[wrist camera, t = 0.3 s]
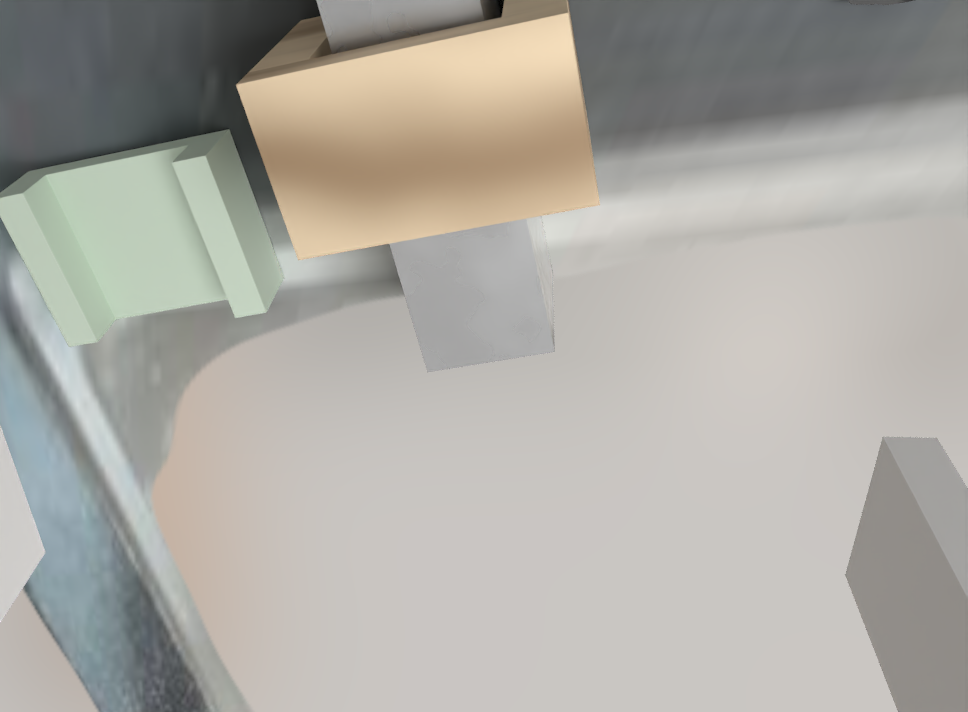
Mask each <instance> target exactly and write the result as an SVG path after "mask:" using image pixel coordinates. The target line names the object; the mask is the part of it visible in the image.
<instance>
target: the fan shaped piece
mask: <svg viewBox="0 0 968 712" xmlns="http://www.w3.org/2000/svg"><path fill="white" fill-rule="evenodd" d="M848 1H849V2H850V3H851V4H856V5H858V4H870V5H872V4H882V5H891V4H897V3H903V2H908V1H913V0H848Z"/></svg>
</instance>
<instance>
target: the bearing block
mask: <svg viewBox="0 0 968 712" xmlns="http://www.w3.org/2000/svg"><path fill="white" fill-rule="evenodd" d="M236 87H237V89H238V92H239V95H240V98H241V101H242V103H243V106H244V109H245V112H246V115H247V117H248V120H249V123H250V126H251V129H252V131H253V134H254V137H255V140H256V143H257V146H258V148H259V151H260V154H261V157H262V160H263V162H264V165H265V168H266V171H267V174H268V176H269V179H270V182H271V185H272V188H273V190H274V193H275V196H276V199H277V202H278V204H279V207H280V210H281V213H282V216H283V218H284V221H285V224H286V227H287V230H288V233H289V235H290V238H291V241H292V244H293V247H294V249H295V252H296V255H297V258H298V260H303V259H308V258H314V257H319V256H325V255H330V254H336V253H341V252H346V251H352V250H357V249H363V248H368V247H374V246H379V245H385V244H390V243H396V242H401V241H406V240H412V239H417V238H423V237H428V236H434V235H439V234H445V233H450V232H456V231H461V230H466V229H472V228H477V227H483V226H488V225H494V224H499V223H505V222H510V221H516V220H521V219H526V218H532V217H537V216H543V215H548V214H554V213H559V212H565V211H570V210H575V209H581V208H586V207H592V206H597V205H600V202H599V195H598V188H597V181H596V175H595V168H594V161H593V154H592V147H591V140H590V133H589V126H588V119H587V113H586V107H585V101H584V95H583V89H582V83H581V77H580V70H579V64H578V58H577V52H576V46H575V40H574V34H573V28H572V22H571V16H570V9H569V3H568V0H504V5H503V11H502V17H500V18H495V19H491V20H486V21H482V22H477V23H473V24H468V25H463V26H459V27H454V28H450V29H445V30H441V31H436V32H431V33H427V34H422V35H418V36H413V37H409V38H404V39H399V40H395V41H390V42H386V43H381V44H377V45H372V46H368V47H363V48H358V49H354V50H349V51H345V52H340V53H336V54H332V51H331V48H330V45H329V41H328V38H327V35H326V31H325V28H324V25H323V21H322V18H321V16H318V17H314V18H310V19H305V20H301V21H300V22H299V23H298V24H297V25H296V26H295V27H294V28H293V29H292V30H291V31H290V32H289V33H288V34H287V35H286V36H285V37H284V38H283V39H282V40H281V41H280V42H279V43H278V44H277V45H276V46H275V47H274V48H273V49H272V50H271V51H270V52H269V53H267V54H266V55H265V56H264V57H263V58H262V59H261V60H260V61H259V62H258V63H257V64H256V65H255V66H254V67H253V68H252V69H251V70H250V71H249V72H248V73H247V74H246V75H245V76H244V77H243V78H242V79H241V80H240V81H239V82H238V83H237V84H236Z"/></svg>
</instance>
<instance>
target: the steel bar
mask: <svg viewBox="0 0 968 712" xmlns="http://www.w3.org/2000/svg"><path fill="white" fill-rule="evenodd" d="M316 1H317V5H318V8H319V11H320V15H321V18H322V21H323V25H324V28H325V31H326V35H327V38H328V41H329V45H330V48H331V51H332V54H336V53H340V52H345V51H349V50H354V49H358V48H363V47H368V46H372V45H377V44H381V43H386V42H390V41H395V40H399V39H404V38H409V37H413V36H418V35H422V34H427V33H431V32H436V31H441V30H445V29H450V28H454V27H459V26H463V25H468V24H473V23H477V22H482V21H486V20H491V19H495V18H500V17H501V15H500V10H499V5H498V0H316ZM389 245H390V248H391V252H392V255H393V258H394V262H395V265H396V268H397V272H398V275H399V278H400V282H401V285H402V288H403V292H404V295H405V299H406V301H407V305H408V308H409V312H410V315H411V319H412V322H413V325H414V329H415V332H416V335H417V339H418V342H419V345H420V349H421V352H422V355H423V358H424V362H425V365H426V368H427V372H432V371H438V370H444V369H450V368H457V367H463V366H469V365H475V364H481V363H488V362H493V361H500V360H506V359H513V358H519V357H525V356H531V355H538V354H544V353H550V352H554V351H555V347H554V346H555V345H554V307H553V270H552V265H551V260H550V256H549V251H548V246H547V241H546V236H545V231H544V226H543V221H542V216H537V217H532V218H526V219H521V220H516V221H510V222H505V223H499V224H494V225H488V226H483V227H477V228H472V229H466V230H461V231H456V232H450V233H445V234H439V235H434V236H428V237H423V238H417V239H412V240H406V241H401V242H396V243H390V244H389Z"/></svg>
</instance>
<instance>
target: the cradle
mask: <svg viewBox="0 0 968 712" xmlns="http://www.w3.org/2000/svg"><path fill="white" fill-rule="evenodd" d="M0 217H1V219H2V221H3V223H4V225H5V227H6V228H7V230H8V232H9V234H10V236H11V238H12V240H13V242H14V244H15V246H16V247H17V249H18V251H19V253H20V255H21V257H22V259H23V261H24V263H25V265H26V266H27V268H28V270H29V272H30V274H31V276H32V278H33V280H34V282H35V284H36V285H37V287H38V289H39V291H40V293H41V295H42V297H43V299H44V301H45V303H46V304H47V306H48V308H49V310H50V312H51V314H52V316H53V318H54V320H55V322H56V324H57V325H58V327H59V329H60V331H61V333H62V335H63V337H64V339H65V341H66V343H67V344H68V346H69V347H72V346H78V345H84V344H90V343H95V342H98V341H99V340H100V339H101V338H102V336H103V335H104V334H105V333H106V331H107V330H108V329H109V328H110V326H111V325H112V324H113V322H114V321H115V320H116V319H121V318H126V317H132V316H138V315H143V314H149V313H154V312H160V311H166V310H171V309H177V308H182V307H188V306H194V305H199V304H205V303H210V302H216V301H222V300H227V299H228V301H229V304H230V306H231V308H232V311H233V313H234V316H235V318H238V317H244V316H249V315H255V314H261V313H266V312H267V310H268V308H269V307H270V305H271V303H272V301H273V299H274V297H275V295H276V293H277V291H278V289H279V287H280V285H281V283H282V281H283V279H284V276H283V274H282V271H281V268H280V265H279V263H278V260H277V257H276V255H275V252H274V249H273V246H272V244H271V241H270V238H269V236H268V233H267V230H266V227H265V225H264V222H263V219H262V217H261V214H260V211H259V209H258V206H257V203H256V200H255V198H254V195H253V192H252V190H251V187H250V184H249V181H248V179H247V176H246V173H245V171H244V168H243V165H242V162H241V160H240V157H239V154H238V152H237V149H236V146H235V144H234V141H233V138H232V135H231V133H230V130H229V129H228V130H223V131H218V132H213V133H208V134H204V135H199V136H194V137H189V138H185V139H180V140H175V141H170V142H165V143H161V144H156V145H151V146H146V147H142V148H137V149H132V150H127V151H122V152H118V153H113V154H108V155H103V156H99V157H94V158H89V159H84V160H79V161H75V162H70V163H65V164H60V165H56V166H51V167H46V168H41V169H36V170H32V171H28V172H27V173H26V174H24V175H23V176H22V177H20V178H19V179H18V180H17V181H15V182H14V183H13V184H11V185H10V186H9V187H7V188H6V189H5V190H3V191H2V192H1V193H0Z"/></svg>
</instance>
